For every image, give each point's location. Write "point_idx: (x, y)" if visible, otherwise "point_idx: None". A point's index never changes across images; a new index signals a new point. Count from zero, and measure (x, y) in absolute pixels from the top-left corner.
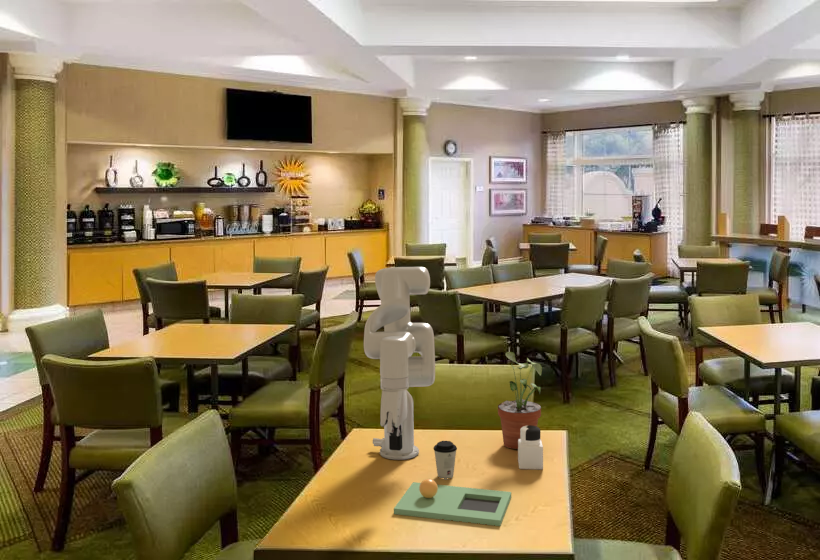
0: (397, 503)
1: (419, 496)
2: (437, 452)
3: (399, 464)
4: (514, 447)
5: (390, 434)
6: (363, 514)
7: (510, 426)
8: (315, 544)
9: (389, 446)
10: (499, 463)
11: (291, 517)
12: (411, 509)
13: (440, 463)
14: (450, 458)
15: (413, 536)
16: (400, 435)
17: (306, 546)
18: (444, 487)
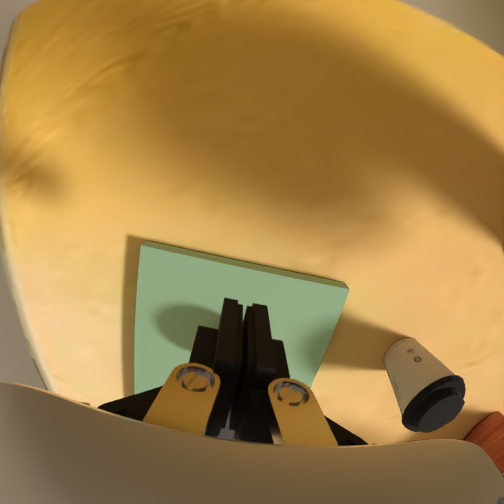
0: (176, 253)
1: None
2: (420, 389)
3: (489, 229)
4: (471, 434)
5: (153, 389)
6: (137, 149)
7: (489, 456)
8: (9, 90)
9: (223, 305)
10: None
11: None
12: (142, 296)
13: (403, 374)
14: (399, 407)
15: (53, 295)
16: (235, 430)
17: (6, 78)
18: (302, 372)
